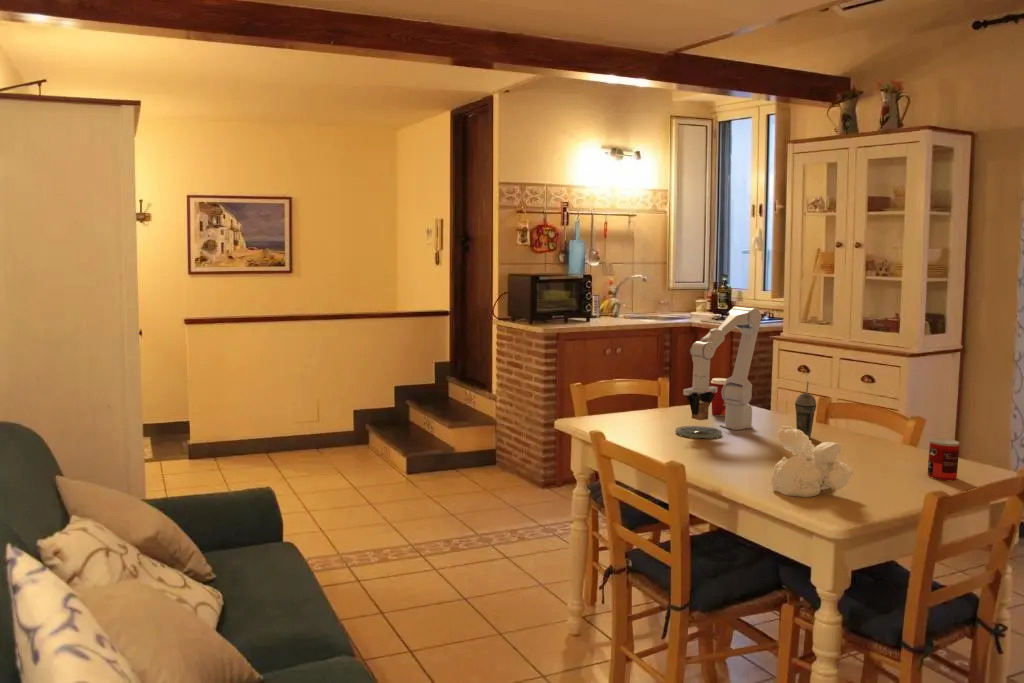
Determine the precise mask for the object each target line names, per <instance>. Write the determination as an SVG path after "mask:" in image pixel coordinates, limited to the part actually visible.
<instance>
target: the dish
mask: <svg viewBox="0 0 1024 683" xmlns="http://www.w3.org/2000/svg"><path fill="white" fill-rule="evenodd" d="M675 432H676V433H677V434H678V435H677V434H676V433H675V434H676V435H677V436H679V435H681V436H680V437H682V436H686V437H685V438H687V437H692V438H691V439H694V438H715V439H718V438H717V437H719V438H721V437H722V435H723V431H722V430H721V429H718V428H716V427H710V426H703V425H683V426H682V425H681V426H679V427H676V428H675ZM720 436H721V437H720Z"/></svg>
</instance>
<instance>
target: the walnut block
mask: <svg viewBox="0 0 1024 683" xmlns="http://www.w3.org/2000/svg"><path fill="white" fill-rule="evenodd" d="M709 408H710V405H709V402H705V401H701V400H700V402H699V406H698V414H697V415H694V414H692V413H691V419H694V420H697V421H706V420H708V419H709V410H710V409H709Z"/></svg>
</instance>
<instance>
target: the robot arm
mask: <svg viewBox="0 0 1024 683" xmlns="http://www.w3.org/2000/svg"><path fill="white" fill-rule="evenodd" d="M762 317H763V316H762V314H761V311H760V310H759V309H758V308H756V307H744V306H743V307H741V306H737V305H736V306H733V307H732V308H731V309H730V310H729V312H728V316H726V318H725V319H724V320H723V322H722V323H721V324H720V325H719V326H718V328H715V327H714V328H711V329H709V332H708V333H707V334H705V336H703V337H702V338H701V339H700V340H699V341H698V340H697V341H695V342H693V344H692V345H691V347H690V349H689V352H690V355H691V360H692V363H693V364H692V365H693V366H692V367H693V368H692V385H691V386H692V387H688V388H685V389H684V388H683V390H682V395H683V396H685V397H686V399H687V401H688V403H689V406H690V410H691V411H690V412H691V415H692V414H694V415H697V414H698V406H699V402H700V401H705V402H709V406H710V405H711V404H712V399H713V398H714V394H712V392H715V393H716V392H717V388H718V387H715V386H710V375H711V374H710V372H711V359H712V358H713V357H714V355H715V353H716V351H717V348H718V347H719V346H720V345H721V344H722V343H723V342H725V338H726V337H725V336H726V335H727V334H728V333H730V332H731V331H732V330H733V329H735V328H736V329H737V330H738V331H739V332H740V334H741V336H740V340H739V345H738V349H737V350H738V351H737V354H736V360H735V363H734V366H733V371H732V375H731V376H729V377H727V378H725V379H726V382H725V385H724V386H723V388H722V392H721V393H722V398H723V399H724V402H726V413H725V416H724V424H723V423H722V424H719V426H720V427H723V428H726V429H730V430H734V431H737V430H745V428H746V429H752V427H753V428H754V425H752V423H753V407H752V405H751V404H750V401H751V400H752V396H753V393H752V392H753V391H752V389H753V384H752V383H751V382H750V381H749V378H748V376H749V374H750V373H749V372H750V369H751V363H752V358H753V354H754V350H755V347H756V341H757V338H758V333H759V330H760V326H761V321H762Z"/></svg>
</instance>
